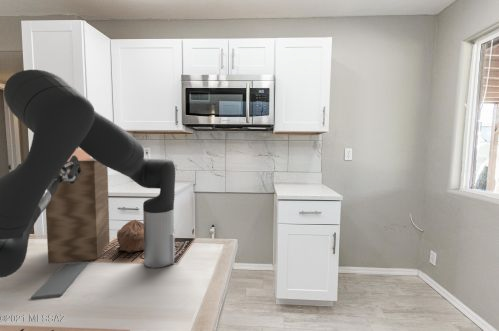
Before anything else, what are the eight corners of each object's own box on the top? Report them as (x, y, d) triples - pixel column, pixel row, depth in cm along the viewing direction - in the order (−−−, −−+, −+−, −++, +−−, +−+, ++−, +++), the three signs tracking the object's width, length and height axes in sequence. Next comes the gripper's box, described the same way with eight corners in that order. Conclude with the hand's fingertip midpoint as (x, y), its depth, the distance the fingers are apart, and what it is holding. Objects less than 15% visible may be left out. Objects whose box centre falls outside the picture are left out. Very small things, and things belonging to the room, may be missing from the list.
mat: (88, 263, 82) (88, 261, 82) (61, 295, 65) (61, 293, 65) (64, 265, 81) (64, 263, 81) (31, 299, 63) (30, 296, 63)
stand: (110, 242, 99) (108, 158, 97) (98, 259, 85) (94, 160, 83) (67, 245, 96) (63, 158, 93) (46, 263, 82) (41, 160, 79)
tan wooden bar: (90, 158, 94) (90, 148, 94) (62, 162, 73) (61, 150, 73) (79, 158, 93) (79, 148, 93) (47, 162, 72) (47, 150, 72)
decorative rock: (121, 243, 100) (121, 217, 99) (152, 240, 102) (152, 216, 102) (112, 257, 87) (111, 228, 86) (147, 254, 90) (147, 226, 89)
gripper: (61, 182, 61) (83, 147, 74) (-12, 184, 58) (24, 146, 71) (69, 206, 65) (89, 168, 78) (2, 208, 62) (33, 168, 75)
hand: (58, 158), depth 74 cm, fingers open, 8 cm apart
